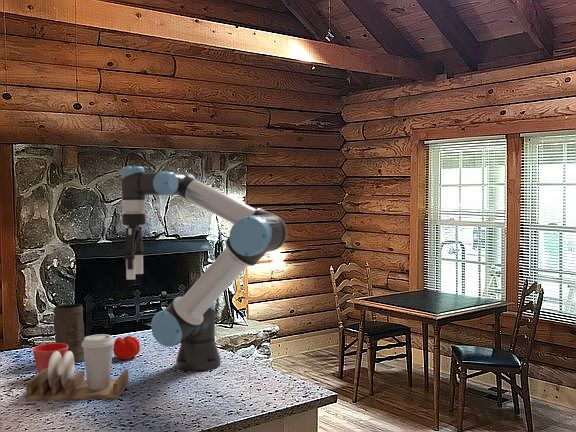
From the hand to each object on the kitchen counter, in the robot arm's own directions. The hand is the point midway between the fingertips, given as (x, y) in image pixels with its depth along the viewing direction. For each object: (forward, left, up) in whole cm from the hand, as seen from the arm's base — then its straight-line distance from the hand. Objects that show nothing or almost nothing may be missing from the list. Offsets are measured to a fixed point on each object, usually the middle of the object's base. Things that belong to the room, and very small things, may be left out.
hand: (135, 276), depth 209 cm
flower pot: (+27, +4, -32) cm, 42 cm away
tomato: (+7, -17, -32) cm, 37 cm away
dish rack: (+13, +21, -32) cm, 40 cm away
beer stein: (+29, -17, -32) cm, 46 cm away
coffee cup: (+7, +20, -31) cm, 38 cm away
